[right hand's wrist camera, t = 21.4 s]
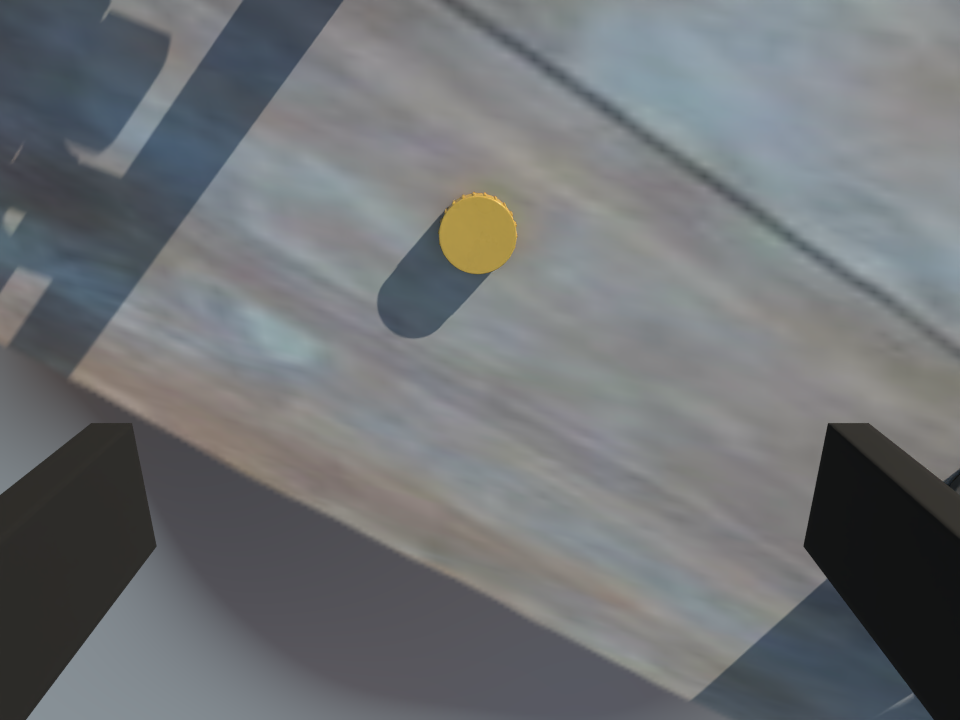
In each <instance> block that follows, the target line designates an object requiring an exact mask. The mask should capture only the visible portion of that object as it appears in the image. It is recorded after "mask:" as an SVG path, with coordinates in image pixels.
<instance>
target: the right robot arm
mask: <svg viewBox="0 0 960 720" xmlns="http://www.w3.org/2000/svg"><path fill="white" fill-rule="evenodd" d="M155 548H156V541H155V536H154V531H153V526H152V521H151V516H150V511H149V506H148V501H147V496H146V491H145V486H144V481H143V476H142V471H141V466H140V461H139V456H138V451H137V446H136V441H135V436H134V431H133V426H132V423H91V424H90V425H89V426H87V427H86V428H85V429H83V430H82V431H81V432H80V433H78V434H77V435H76V436H75V437H73V438H72V439H71V440H69V441H68V442H67V443H66V444H64V445H63V446H62V447H61V448H59V449H58V450H57V451H55V452H54V453H53V454H52V455H50V456H49V457H48V458H47V459H45V460H44V461H43V462H42V463H40V464H39V465H38V466H36V467H35V468H34V469H33V470H31V471H30V472H29V473H28V474H26V475H25V476H24V477H23V478H21V479H20V480H19V481H17V482H16V483H15V484H14V485H12V486H11V487H10V488H9V489H7V490H6V491H5V492H3V493H2V494H1V495H0V720H26V719H27V718H28V716H29V715H30V714H31V712H32V711H33V710H34V708H35V707H36V706H37V704H38V703H39V702H40V700H41V699H42V698H43V696H44V695H45V694H46V692H47V691H48V690H49V688H50V687H51V686H52V684H53V683H54V682H55V680H56V679H57V678H58V676H59V675H60V674H61V672H62V671H63V670H64V669H65V667H66V666H67V665H68V663H69V662H70V661H71V659H72V658H73V657H74V655H75V654H76V653H77V651H78V650H79V649H80V647H81V646H82V645H83V643H84V642H85V641H86V639H87V638H88V637H89V635H90V634H91V633H92V631H93V630H94V629H95V627H96V626H97V625H98V623H99V622H100V621H101V619H102V618H103V617H104V615H105V614H106V613H107V611H108V610H109V609H110V607H111V606H112V605H113V603H114V602H115V601H116V600H117V598H118V597H119V595H120V594H121V593H122V592H123V590H124V589H125V588H126V586H127V585H128V584H129V582H130V581H131V580H132V578H133V577H134V576H135V574H136V573H137V572H138V570H139V569H140V568H141V566H142V565H143V564H144V562H145V561H146V560H147V558H148V557H149V556H150V554H151V553H152V552H153V550H154V549H155ZM804 548H805V549H806V550H807V552H808V553H809V554H810V556H811V557H812V558H813V560H814V561H815V562H816V564H817V565H818V566H819V568H820V569H821V570H822V572H823V573H824V574H825V576H826V577H827V578H828V580H829V581H830V582H831V584H832V585H833V586H834V588H835V589H836V590H837V592H838V593H839V594H840V596H841V597H842V598H843V600H844V601H845V602H846V603H847V605H848V606H849V607H850V609H851V610H852V611H853V613H854V614H855V615H856V617H857V618H858V619H859V621H860V622H861V623H862V625H863V626H864V627H865V629H866V630H867V631H868V633H869V634H870V635H871V637H872V638H873V639H874V641H875V642H876V643H877V645H878V646H879V647H880V649H881V650H882V651H883V653H884V654H885V655H886V657H887V658H888V659H889V661H890V662H891V663H892V665H893V666H894V667H895V669H896V670H897V671H898V673H899V674H900V675H901V677H902V678H903V679H904V680H905V682H906V683H907V684H908V686H909V687H910V688H911V690H912V691H913V692H914V694H915V695H916V696H917V698H918V699H919V700H920V702H921V703H922V704H923V706H924V707H925V708H926V710H927V711H928V712H929V714H930V715H931V716H932V718H933V719H934V720H960V475H959V476H958V477H957V478H956V479H955V480H954V481H953V482H952V484H951V485H950V486H948V485H946V484H945V483H944V482H943V481H941V480H940V479H939V478H938V477H936V476H935V475H934V474H932V473H931V472H930V471H929V470H927V469H926V468H925V467H924V466H922V465H921V464H920V463H918V462H917V461H916V460H915V459H913V458H912V457H911V456H910V455H908V454H907V453H906V452H905V451H903V450H902V449H901V448H899V447H898V446H897V445H896V444H894V443H893V442H892V441H891V440H889V439H888V438H887V437H885V436H884V435H883V434H882V433H880V432H879V431H878V430H877V429H875V428H874V427H873V426H872V425H870V424H869V423H828V426H827V431H826V436H825V441H824V446H823V451H822V456H821V461H820V466H819V471H818V476H817V481H816V486H815V491H814V496H813V501H812V506H811V511H810V516H809V521H808V526H807V531H806V536H805V541H804Z"/></svg>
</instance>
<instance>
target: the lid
mask: <svg viewBox="0 0 960 720" xmlns="http://www.w3.org/2000/svg"><path fill="white" fill-rule="evenodd" d="M512 216H513V214H512V212H511V211H509V210H508V208H507V207H506V204H505V203H502V202H501V201H500V200H498V199H497V197H496V196H495V197H493V196H490V195H487V194H486V193H484V194H482V193H475V192H473V194H469V195H465V196H464V195H462V197H461V198H459V199H457V200H456V201H455V200H454V201H453V202H452V204H451V205H450V206H449V208H448V209H447V208H446V209H445V214H444V216H443V218H441V220H440V223H441V225H440V229H439V231H438V234H439V241H440V242H439V245H440V246H441V249H442V251H443V254H444V255H445V257H446V258H447V260H448V261H449V262H450V263H451V264H452V265H453V266H455V267H456V268H458V269H459V270H461V271H464V272H467V273H471V274H485V273H489V272H492V271H494V270H496V269H498V268H499V267H501V266H502V265H503V264H504V263H505V262H506V261H507V260H508V259H509V258H510V256H511V254H512V252H513V250H514V248H515V244H516V238H517V233H516V226H517V225H516V222H514V220H513V217H512Z"/></svg>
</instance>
